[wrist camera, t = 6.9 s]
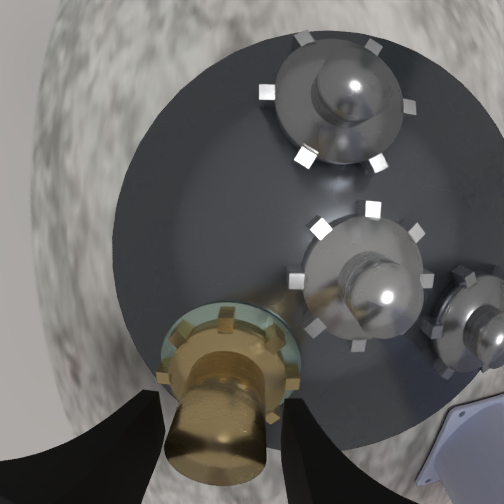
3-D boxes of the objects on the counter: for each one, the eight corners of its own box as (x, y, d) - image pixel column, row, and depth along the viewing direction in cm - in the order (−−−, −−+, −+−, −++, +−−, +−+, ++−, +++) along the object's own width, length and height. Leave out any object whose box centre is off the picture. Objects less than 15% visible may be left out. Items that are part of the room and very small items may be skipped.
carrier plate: (515, 88, 12) (568, 73, 7) (469, 416, 16) (500, 457, 11) (127, 44, 12) (82, 2, 7) (147, 433, 16) (124, 488, 12)
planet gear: (301, 307, 13) (327, 384, 8) (291, 418, 14) (302, 506, 9) (157, 303, 13) (102, 371, 8) (170, 412, 15) (140, 494, 9)
